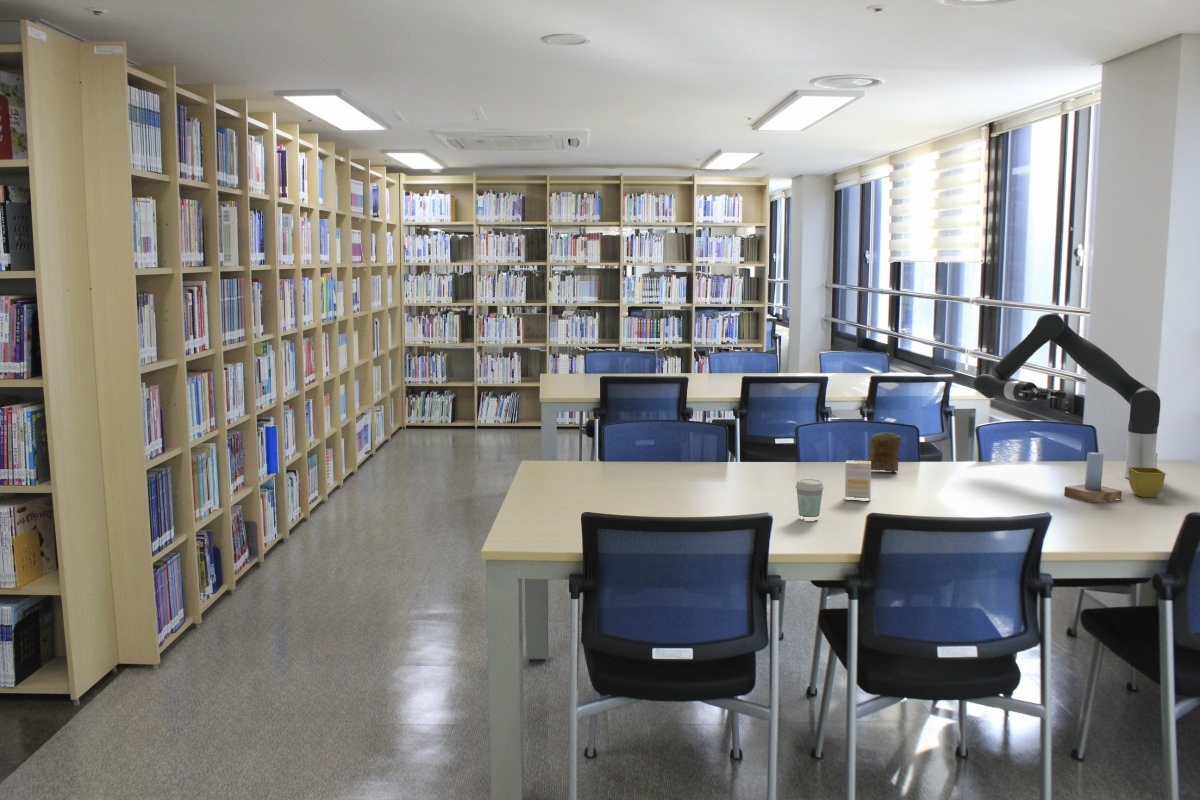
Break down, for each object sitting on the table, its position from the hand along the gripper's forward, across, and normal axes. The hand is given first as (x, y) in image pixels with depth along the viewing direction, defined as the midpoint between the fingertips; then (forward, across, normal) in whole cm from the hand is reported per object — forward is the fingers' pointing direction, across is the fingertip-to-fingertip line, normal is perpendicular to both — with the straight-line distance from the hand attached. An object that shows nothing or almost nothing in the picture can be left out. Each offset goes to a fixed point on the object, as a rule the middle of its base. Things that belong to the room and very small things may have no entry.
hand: (1056, 396), depth 320 cm
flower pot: (+24, +16, +32) cm, 43 cm away
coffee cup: (+6, -105, +32) cm, 110 cm away
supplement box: (-9, -76, +32) cm, 83 cm away
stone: (-42, -40, +32) cm, 66 cm away
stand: (+19, -2, +32) cm, 37 cm away
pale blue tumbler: (+19, -2, +29) cm, 35 cm away
